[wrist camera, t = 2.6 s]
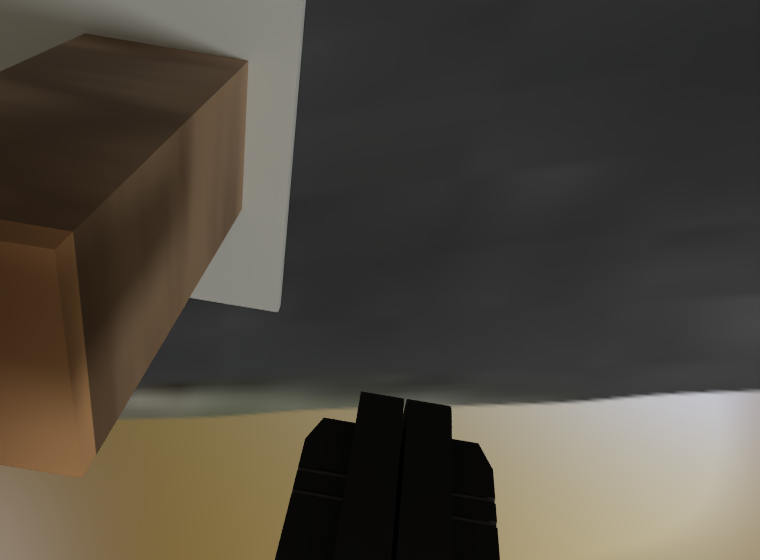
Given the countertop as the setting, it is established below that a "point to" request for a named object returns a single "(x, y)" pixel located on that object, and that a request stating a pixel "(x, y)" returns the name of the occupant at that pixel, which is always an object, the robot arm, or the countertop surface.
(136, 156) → the walnut block
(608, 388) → the countertop surface
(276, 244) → the grey mat
